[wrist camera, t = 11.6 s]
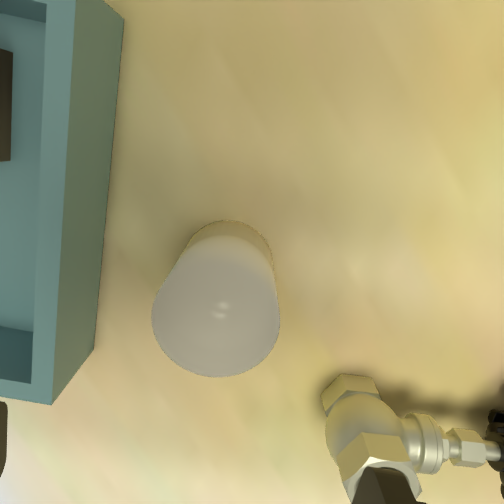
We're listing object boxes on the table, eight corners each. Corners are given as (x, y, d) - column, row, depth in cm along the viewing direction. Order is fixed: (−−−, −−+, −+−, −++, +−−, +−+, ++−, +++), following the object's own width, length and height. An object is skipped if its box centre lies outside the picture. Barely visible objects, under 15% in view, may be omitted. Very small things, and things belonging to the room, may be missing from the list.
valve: (308, 435, 25) (487, 456, 26) (326, 536, 19) (563, 562, 19) (327, 347, 23) (520, 370, 24) (353, 426, 17) (617, 456, 17)
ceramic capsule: (190, 212, 21) (160, 249, 14) (281, 230, 21) (293, 274, 14) (177, 296, 22) (144, 365, 16) (262, 312, 23) (265, 386, 16)
